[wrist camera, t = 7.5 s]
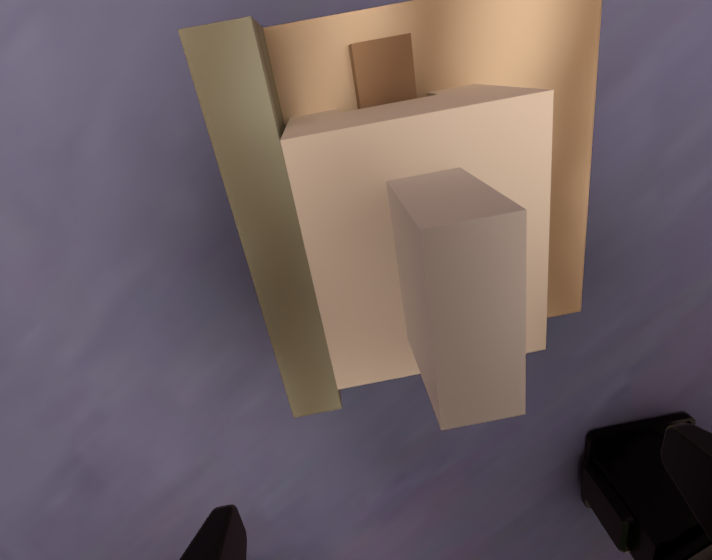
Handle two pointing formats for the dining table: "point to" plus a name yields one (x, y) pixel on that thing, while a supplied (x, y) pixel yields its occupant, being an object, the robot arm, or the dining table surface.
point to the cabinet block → (430, 241)
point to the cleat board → (372, 88)
